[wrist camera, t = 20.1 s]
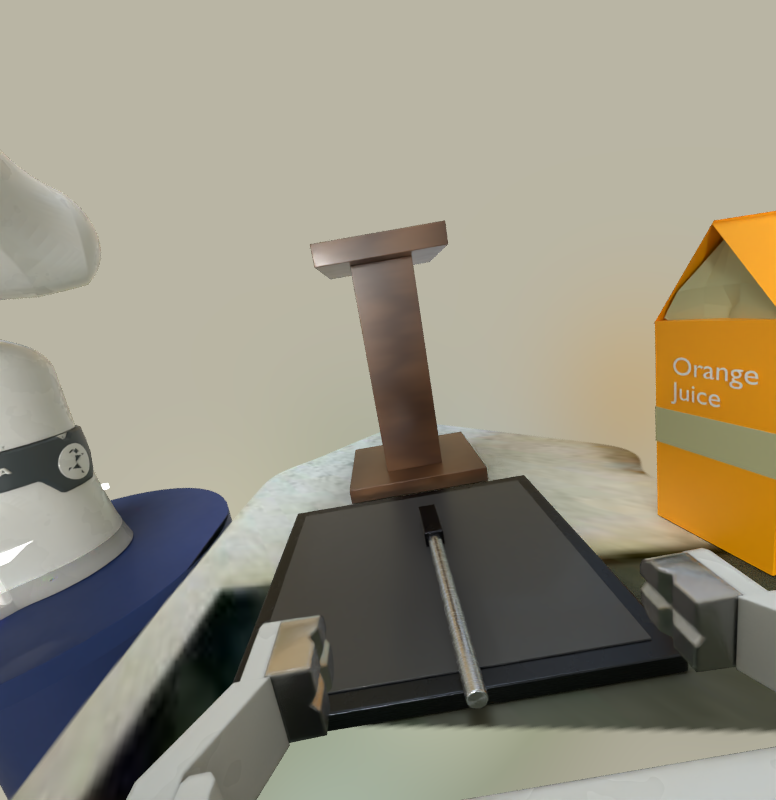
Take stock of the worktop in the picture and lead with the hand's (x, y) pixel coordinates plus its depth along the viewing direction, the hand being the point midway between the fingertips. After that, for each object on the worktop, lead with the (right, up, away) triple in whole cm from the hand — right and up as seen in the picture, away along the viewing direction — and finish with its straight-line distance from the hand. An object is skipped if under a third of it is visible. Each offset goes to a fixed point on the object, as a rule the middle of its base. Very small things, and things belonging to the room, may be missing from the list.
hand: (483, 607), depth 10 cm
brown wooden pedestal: (+1, -3, +35) cm, 35 cm away
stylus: (+1, -6, +15) cm, 16 cm away
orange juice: (+23, -3, +17) cm, 29 cm away
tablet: (0, -7, +18) cm, 19 cm away
